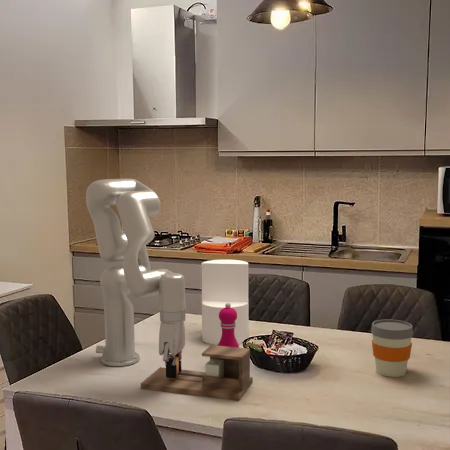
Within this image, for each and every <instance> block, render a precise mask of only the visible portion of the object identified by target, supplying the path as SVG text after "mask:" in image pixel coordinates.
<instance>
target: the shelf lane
mask: <svg viewBox="0 0 450 450" xmlns="http://www.w3.org/2000/svg"><path fill="white" fill-rule="evenodd" d="M250 351H251V350H250V348H247V347H239V348H236V347H226V346H218V345H213V344H209V346H208V347H207V348H206V349H205V350H204V351H203V352H202V353H201V356H202V357H206V358H207V357H208V358H209V360H210V359H218V360H224V377H216V376H207V375H206V371H198V370H188V369H181V372H183V373H192V374H201V375H203V376H202V377H194V376H185V375H179V378H178V379H169V378H167V377H166V367H161V366H160V367H159V368H157V369H156V370H155V371H154V372H153V373H151V375H149V376H147V377H146V378H145V379H144V380H143V381H142V382H140V389H142V390H149V391H150V390H152V391H159V392H167V393H175V394H181V395H182V394H184V395H191V396H198V397H200V396H201V397H206V398H207V397H208V398H216V399H224V400H232V401H233V400H234V401H241V399H242V398H243V396H244V395H245V393H247V391H248V390H249V388H250V386H251V385H252V384H253V382H254V381H253V377H251V370H250V369H251V368H250V367H251V365H250V364H251V363H250V362H251V359H250V358H251V352H250Z"/></svg>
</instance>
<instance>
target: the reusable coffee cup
mask: <svg viewBox="0 0 450 450" xmlns="http://www.w3.org/2000/svg"><path fill="white" fill-rule="evenodd" d="M370 333H371V336H372V340H371V346H372V355H373V357H374V361H375V370H376V373H378V374H379V375H381V376H384V377H390V378H391V377H393V378H394V377H396V378H397V377H403V376H405V375H406V374H407V368H408V362H409V360H410V358H411V352H412V346H413V343H412V337H413V336H414V329H413V324H412V323H409V322H407V321H404V320H399V319H387V318H386V319H385V318H384V319H378V320H374V321H372V323H371V331H370Z"/></svg>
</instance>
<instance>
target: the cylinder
mask: <svg viewBox="0 0 450 450" xmlns="http://www.w3.org/2000/svg"><path fill="white" fill-rule="evenodd" d="M226 303H230V305H231V308H233V309H235V310H236V312H237V319H236V320H235V322H236V324H235V325H236V327H235V328H234V335H235V338H236V340H237V343H238V345H241V344H243V343H242V342H243V341H244V340H245V339H247V338H249V337H250V335H249V333H250V332H249V329H250V328H249V321H250V318H249V314H250V313H249V310H250V309H249V262H247V261H245V260H240V259H238V260H237V259H212V260H206V261H202V262H201V340H202V341H203V342H205V343H206V344H209V345H215V346H218V344H219V342H220V339H221V336H222V328H221V327H220V325H221V324H220V323H221V320H220V319H219V312H220V310H221V309H223V308H226V307H225V304H226Z"/></svg>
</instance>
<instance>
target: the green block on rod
mask: <svg viewBox="0 0 450 450" xmlns="http://www.w3.org/2000/svg"><path fill="white" fill-rule="evenodd" d="M169 358H171V359H172V357H169ZM175 365H176V369H177V377H176V378H169V379H178V378H179V375H185V376H194V377H202V376H203V375H201V374H192V373H183V372H179V358H178V357H176V356H175ZM205 372H206V375H207V376H216V377H224V360H218V359H210V358H209V360H208V361H207V362H206V364H205Z"/></svg>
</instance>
